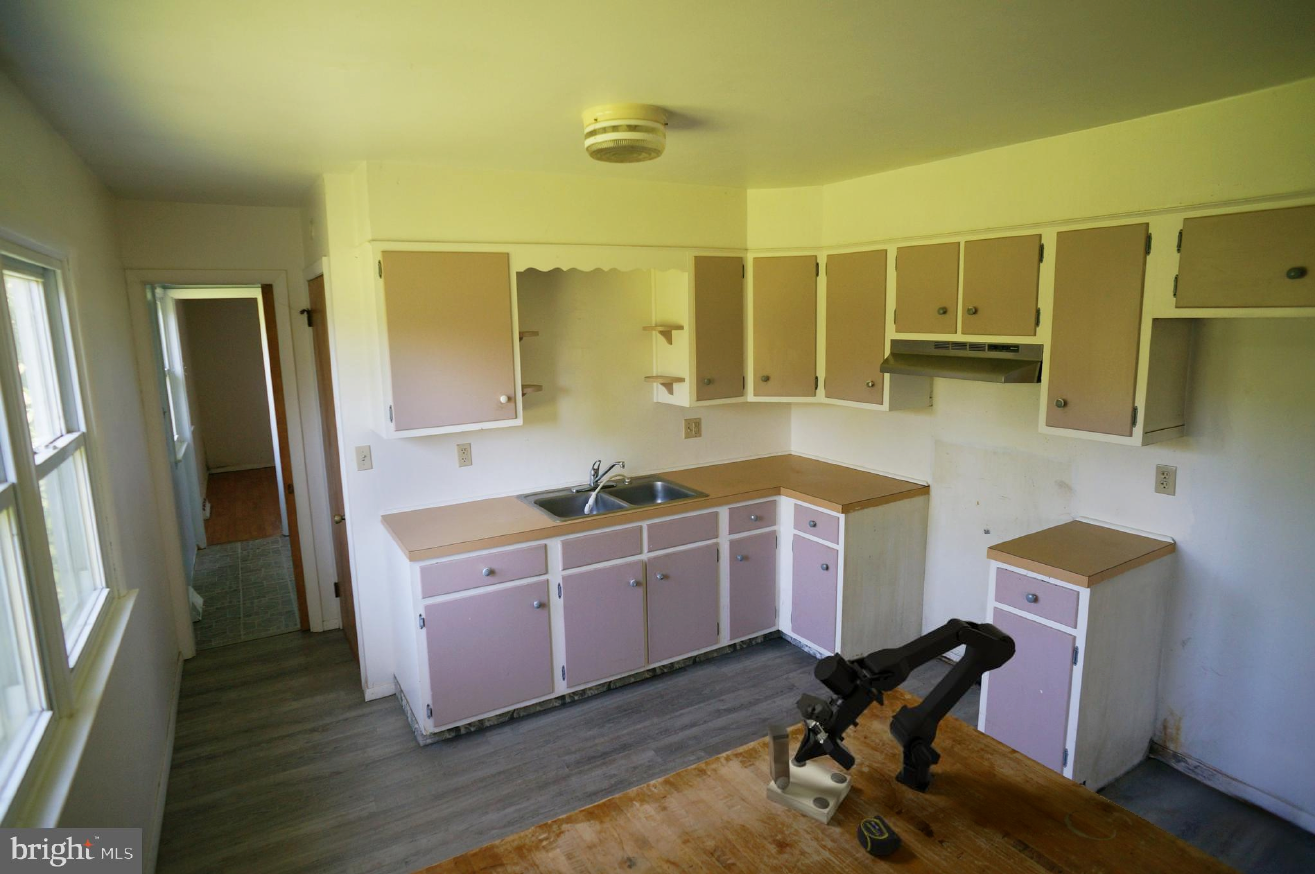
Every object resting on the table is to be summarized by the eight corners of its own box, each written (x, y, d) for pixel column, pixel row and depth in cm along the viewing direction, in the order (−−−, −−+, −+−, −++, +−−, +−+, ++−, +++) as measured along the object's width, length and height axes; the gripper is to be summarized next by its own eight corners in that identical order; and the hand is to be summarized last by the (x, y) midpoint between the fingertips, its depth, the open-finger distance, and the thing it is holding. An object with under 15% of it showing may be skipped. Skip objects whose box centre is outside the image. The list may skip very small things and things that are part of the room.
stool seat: (793, 764, 154) (794, 753, 153) (850, 787, 146) (851, 776, 146) (766, 798, 143) (766, 786, 143) (826, 824, 136) (826, 812, 135)
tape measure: (902, 854, 128) (904, 836, 128) (871, 863, 126) (871, 845, 126) (880, 828, 135) (881, 811, 134) (849, 837, 133) (850, 819, 132)
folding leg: (785, 777, 145) (783, 723, 143) (791, 788, 142) (788, 733, 139) (769, 779, 145) (767, 726, 142) (774, 790, 141) (772, 736, 139)
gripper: (805, 660, 149) (755, 713, 150) (841, 709, 131) (784, 769, 132) (839, 690, 152) (790, 741, 153) (879, 742, 134) (823, 800, 134)
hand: (796, 761), depth 143 cm, fingers closed
